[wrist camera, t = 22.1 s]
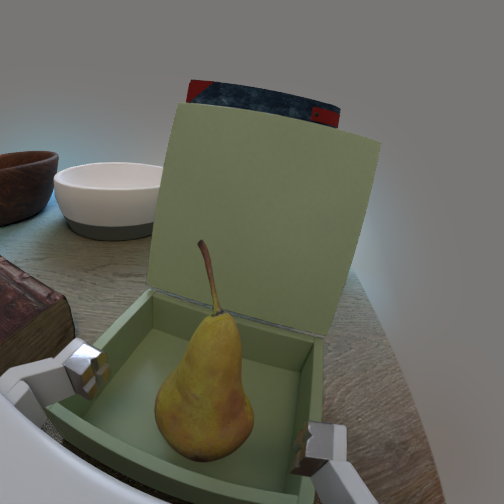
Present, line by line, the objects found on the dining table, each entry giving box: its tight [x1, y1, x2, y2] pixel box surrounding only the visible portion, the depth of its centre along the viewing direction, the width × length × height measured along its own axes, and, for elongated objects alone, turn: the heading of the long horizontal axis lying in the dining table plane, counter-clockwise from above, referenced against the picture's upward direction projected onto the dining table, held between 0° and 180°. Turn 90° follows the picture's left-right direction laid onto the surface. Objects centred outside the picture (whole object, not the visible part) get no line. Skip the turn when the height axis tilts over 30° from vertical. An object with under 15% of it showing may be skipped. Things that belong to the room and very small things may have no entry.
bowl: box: [54, 162, 163, 241], centre depth 43 cm, size 22×22×8 cm
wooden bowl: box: [0, 151, 59, 226], centre depth 37 cm, size 25×25×10 cm
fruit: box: [154, 239, 254, 462], centre depth 12 cm, size 6×6×12 cm
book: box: [186, 80, 340, 129], centre depth 46 cm, size 25×7×25 cm, turn 87°
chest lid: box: [147, 102, 381, 336], centre depth 21 cm, size 14×15×5 cm
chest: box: [43, 288, 324, 504], centre depth 16 cm, size 14×15×4 cm
